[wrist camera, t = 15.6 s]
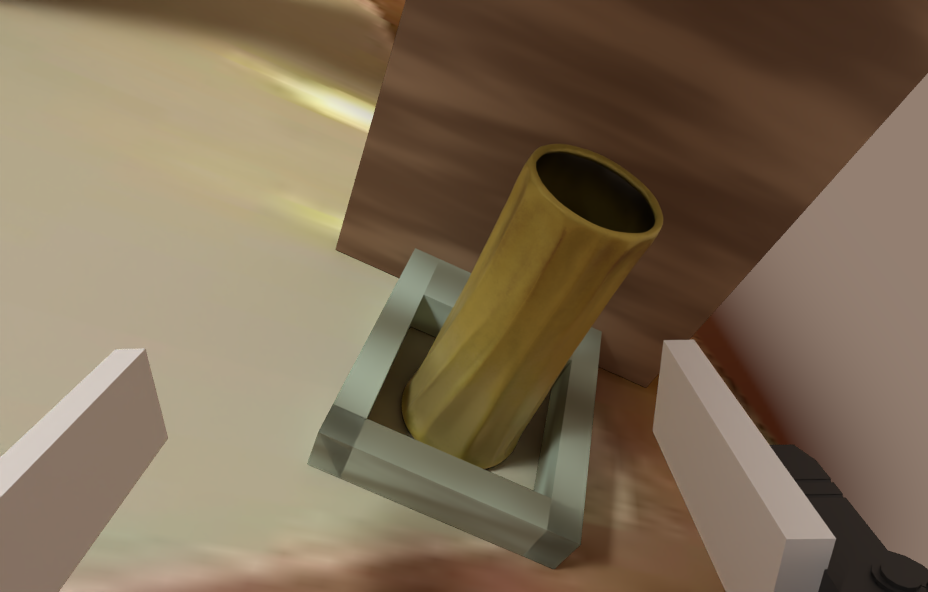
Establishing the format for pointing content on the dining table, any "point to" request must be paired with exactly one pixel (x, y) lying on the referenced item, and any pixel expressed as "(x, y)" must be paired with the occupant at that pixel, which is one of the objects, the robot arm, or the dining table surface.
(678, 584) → the dining table surface
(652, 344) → the board
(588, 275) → the vase
